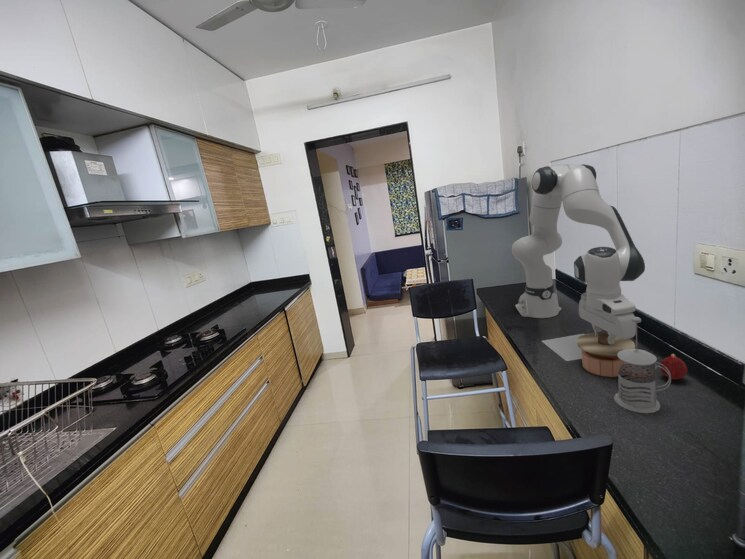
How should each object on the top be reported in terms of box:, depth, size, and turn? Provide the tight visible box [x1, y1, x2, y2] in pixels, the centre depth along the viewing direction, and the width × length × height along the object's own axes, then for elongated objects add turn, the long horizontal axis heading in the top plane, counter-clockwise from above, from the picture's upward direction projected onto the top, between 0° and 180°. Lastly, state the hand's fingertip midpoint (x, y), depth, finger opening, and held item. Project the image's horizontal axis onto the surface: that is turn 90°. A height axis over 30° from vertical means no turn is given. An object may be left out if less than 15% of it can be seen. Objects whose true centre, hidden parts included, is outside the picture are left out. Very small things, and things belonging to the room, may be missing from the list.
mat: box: [541, 333, 585, 362], centre depth 118 cm, size 17×17×1 cm
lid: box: [577, 331, 636, 356], centre depth 101 cm, size 15×15×4 cm
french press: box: [613, 316, 672, 414], centre depth 83 cm, size 10×12×25 cm
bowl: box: [581, 350, 628, 378], centre depth 102 cm, size 12×12×6 cm
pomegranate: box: [659, 353, 688, 380], centre depth 91 cm, size 6×6×8 cm
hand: (604, 340), depth 101 cm, fingers closed on lid, 3 cm apart
